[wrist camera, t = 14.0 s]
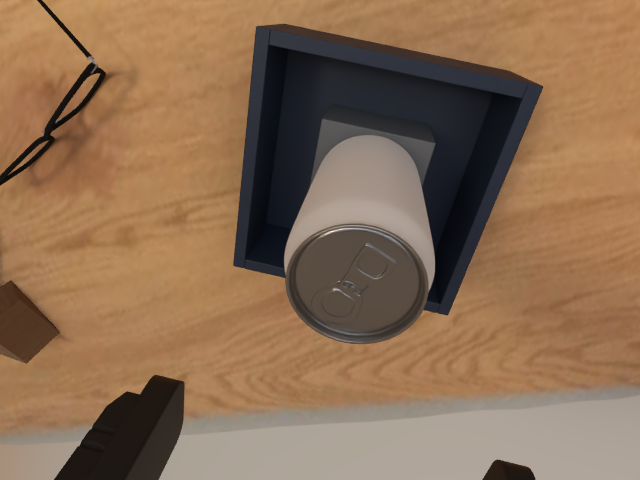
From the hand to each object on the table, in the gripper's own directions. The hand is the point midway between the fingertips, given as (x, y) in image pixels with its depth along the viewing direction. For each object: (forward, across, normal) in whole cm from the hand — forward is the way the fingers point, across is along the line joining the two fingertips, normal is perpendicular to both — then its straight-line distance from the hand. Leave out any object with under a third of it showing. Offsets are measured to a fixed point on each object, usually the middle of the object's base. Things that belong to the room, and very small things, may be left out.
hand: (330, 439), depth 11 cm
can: (+19, 0, 0) cm, 19 cm away
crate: (+25, 0, 0) cm, 25 cm away
